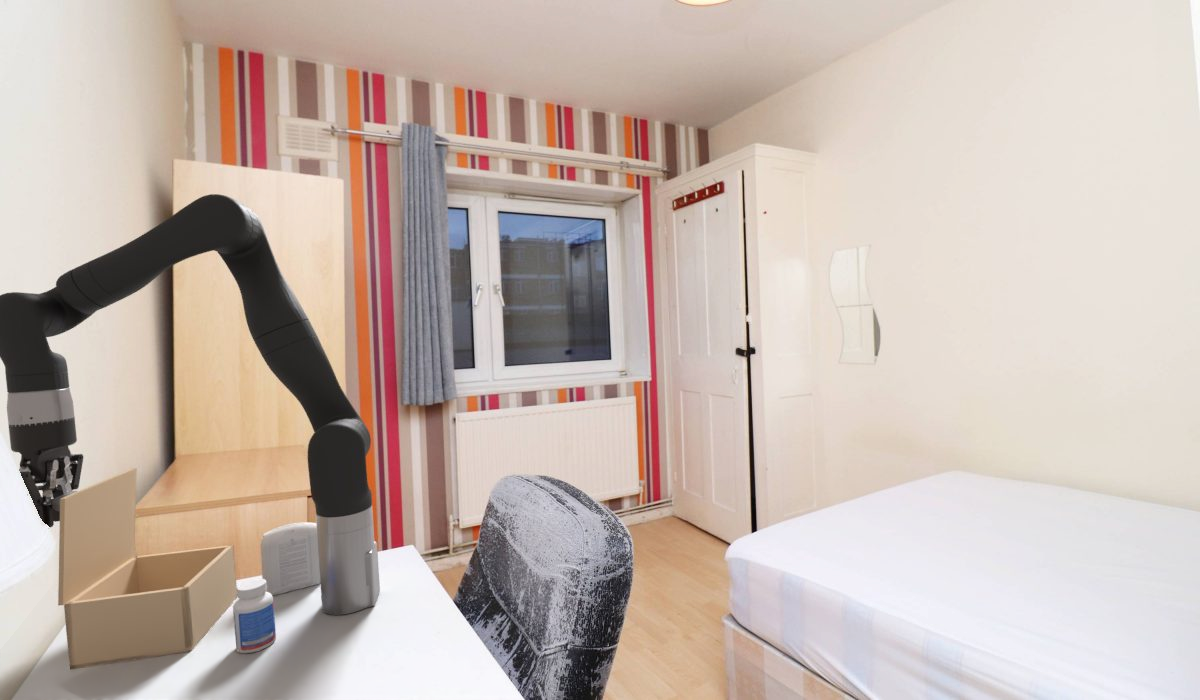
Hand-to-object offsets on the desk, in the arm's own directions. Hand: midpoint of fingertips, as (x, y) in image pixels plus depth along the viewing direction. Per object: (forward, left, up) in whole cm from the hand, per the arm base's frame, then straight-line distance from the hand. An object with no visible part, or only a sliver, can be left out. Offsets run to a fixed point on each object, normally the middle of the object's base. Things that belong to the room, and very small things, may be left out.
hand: (53, 523), depth 90 cm
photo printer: (-32, -10, -20) cm, 39 cm away
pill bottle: (-32, +10, -20) cm, 39 cm away
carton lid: (-7, 0, -2) cm, 7 cm away
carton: (-14, 0, -20) cm, 24 cm away
